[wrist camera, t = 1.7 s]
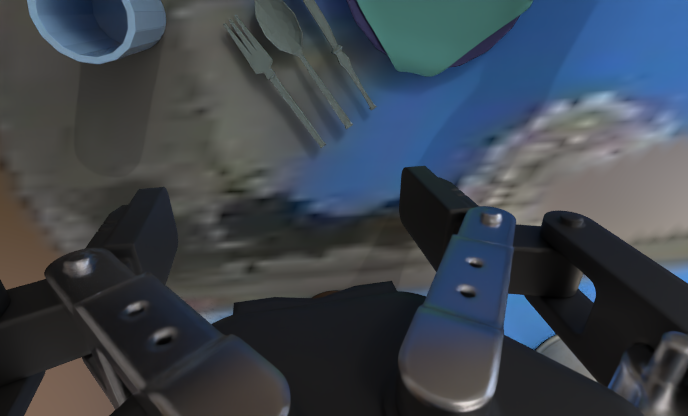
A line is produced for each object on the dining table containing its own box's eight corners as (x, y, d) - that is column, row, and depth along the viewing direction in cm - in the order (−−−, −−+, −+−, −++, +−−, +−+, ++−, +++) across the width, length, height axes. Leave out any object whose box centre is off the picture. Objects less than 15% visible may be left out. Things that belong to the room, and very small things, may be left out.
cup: (102, -44, 30) (41, -66, 22) (176, 0, 33) (148, -4, 24) (79, 25, 32) (15, 31, 24) (151, 63, 35) (117, 80, 26)
